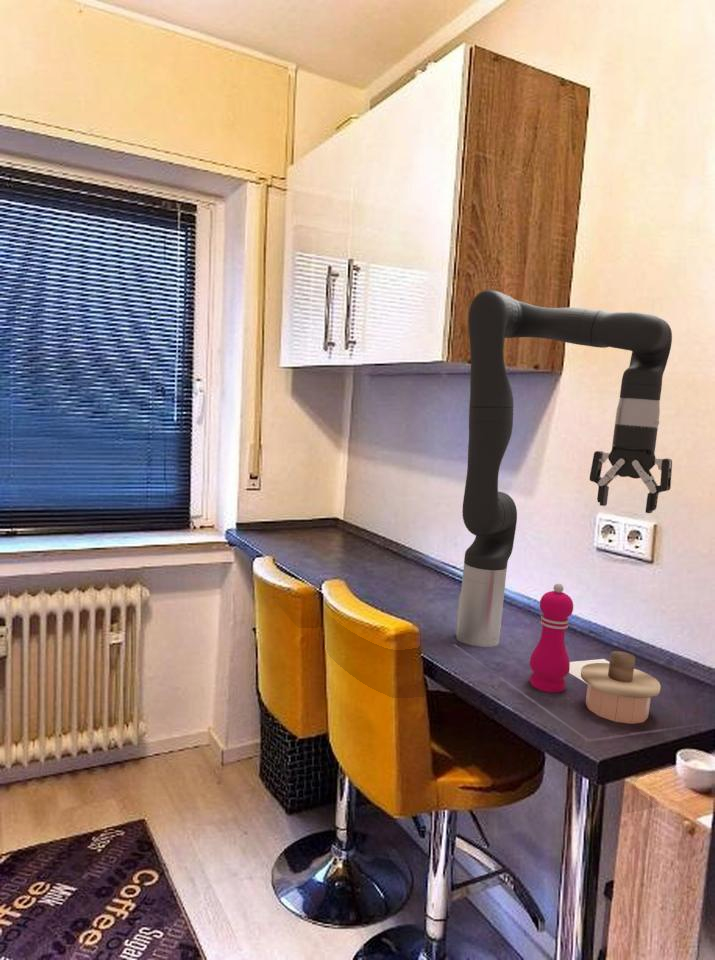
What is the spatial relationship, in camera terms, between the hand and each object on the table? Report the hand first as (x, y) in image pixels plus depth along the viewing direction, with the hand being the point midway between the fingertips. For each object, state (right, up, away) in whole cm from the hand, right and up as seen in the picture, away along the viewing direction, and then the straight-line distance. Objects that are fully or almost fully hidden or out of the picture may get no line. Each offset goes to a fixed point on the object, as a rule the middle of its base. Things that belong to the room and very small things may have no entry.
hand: (625, 509), depth 130 cm
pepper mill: (-15, -34, -2) cm, 37 cm away
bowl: (-6, -35, -10) cm, 37 cm away
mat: (-2, -34, +6) cm, 34 cm away
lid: (-5, -30, -11) cm, 32 cm away
